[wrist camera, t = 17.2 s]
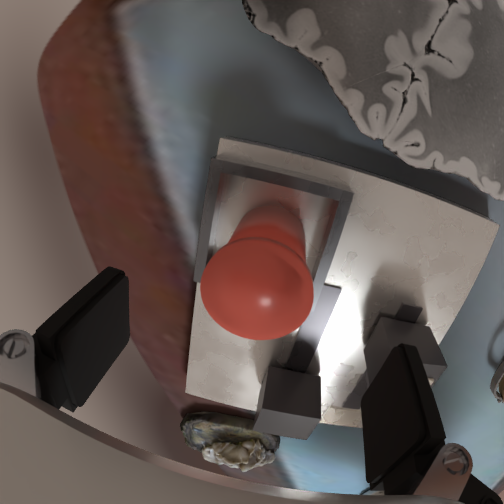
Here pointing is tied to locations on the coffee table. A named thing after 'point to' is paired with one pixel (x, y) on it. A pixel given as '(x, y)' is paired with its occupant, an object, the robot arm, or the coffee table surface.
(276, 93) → the coffee table surface
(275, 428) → the breaker
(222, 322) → the cap
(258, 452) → the grey rough lump
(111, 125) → the coffee table surface
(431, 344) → the block
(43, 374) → the robot arm
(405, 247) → the panel
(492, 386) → the alarm clock
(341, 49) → the brain slice
